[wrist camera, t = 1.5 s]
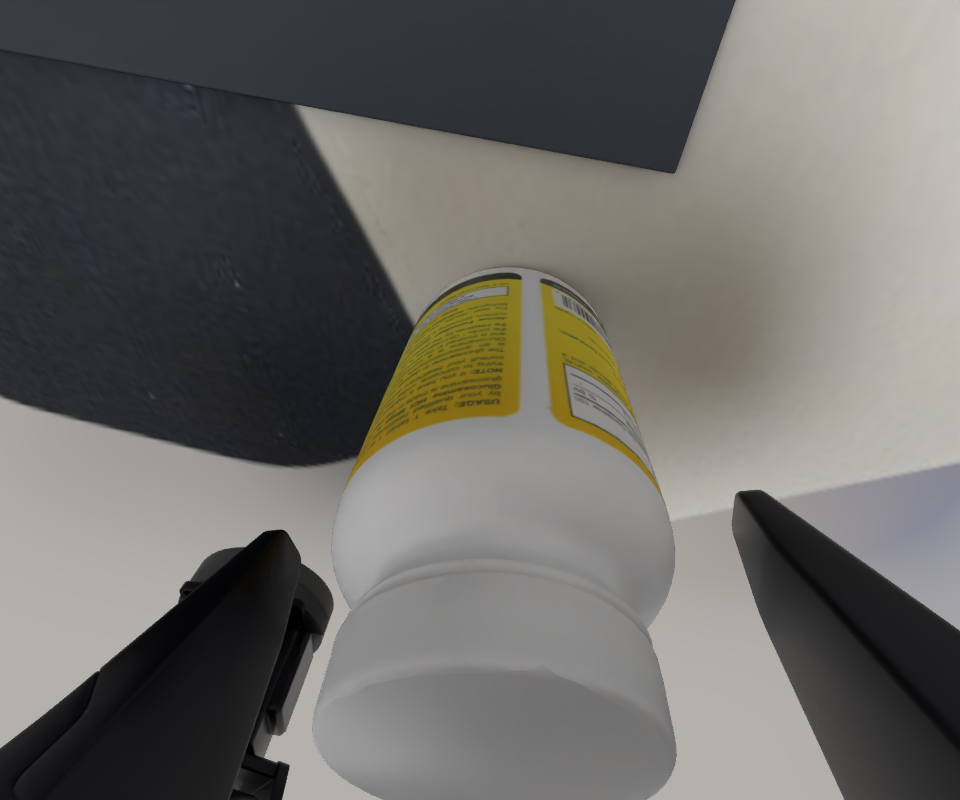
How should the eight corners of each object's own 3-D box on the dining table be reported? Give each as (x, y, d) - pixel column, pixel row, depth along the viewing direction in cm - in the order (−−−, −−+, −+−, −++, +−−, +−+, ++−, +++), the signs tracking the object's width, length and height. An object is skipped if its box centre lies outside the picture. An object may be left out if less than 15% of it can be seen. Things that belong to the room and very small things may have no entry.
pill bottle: (405, 417, 17) (264, 811, 8) (422, 243, 14) (206, 574, 4) (577, 448, 17) (639, 871, 8) (636, 283, 14) (865, 684, 5)
